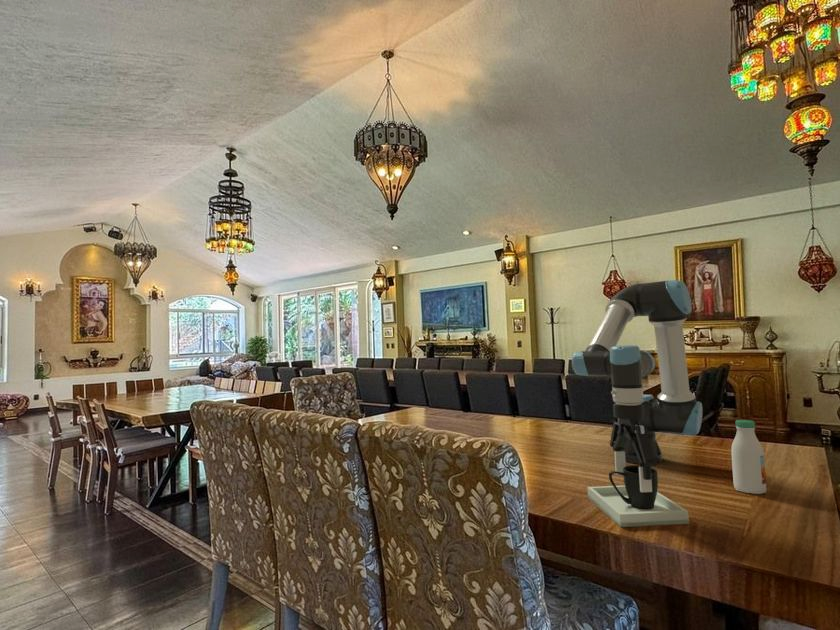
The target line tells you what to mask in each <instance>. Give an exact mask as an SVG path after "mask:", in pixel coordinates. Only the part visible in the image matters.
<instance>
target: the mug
mask: <svg viewBox="0 0 840 630" xmlns="http://www.w3.org/2000/svg"><path fill="white" fill-rule="evenodd" d="M638 465H639V464H637V465H636V464H635V465H633V464H632V465H626V466H625V467H624V468H623V472H617V471H615V470H614V471H613V470H611V471H609V472H608V479H609V481H610V483H611V486H613V487H614V488H615V490H616V491H617V492H618V494H619V495H620V497H621V498H622V499H623V501H624V502H626V503H627V504H631V506H633V507H635V508H638V509H644V510H648V509H653V508H654V503H655V500H656V495H657V492H658V490H659V489H658V488H659V487H658V486H659V477H658V471H657V469H655V468H654V467H651V479H652V492H640V480H639V466H638ZM614 474H615V475H616V474H621V475H620V476H623V483H624V485H625V488H626V492H627V495H628V498H626V497H624V496H623V495H622V494H621V493H620V491H619V490H618V488H617V487H616V486H617V485H616V484H615V483H614V480H613V475H614Z"/></svg>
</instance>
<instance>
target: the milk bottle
mask: <svg viewBox="0 0 840 630" xmlns="http://www.w3.org/2000/svg"><path fill="white" fill-rule="evenodd" d="M755 427H756V423H755V421H754V420H750V419H749V420H748V419H736V420H735V428H736V434H735V437H734V439H733V441H732V444H731V449H730V450H731V467H732V468H731V469H732V478H733V479H732V480H733V482H732V483H733V487H734V489H735V490H736V491H739V492H741V493H746V494H750V493H751V495H762V494H763V493H764V494H766V492H767V478H766V464H765V456H764V449H763V447H762V444H761V443H760V441H759V439H758V438H757V436H756V432H755V430H756V428H755Z"/></svg>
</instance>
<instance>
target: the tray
mask: <svg viewBox="0 0 840 630" xmlns="http://www.w3.org/2000/svg"><path fill="white" fill-rule="evenodd" d="M616 487H617V488H618V490H619V491H620V493H621V494H622V495H623V496H624V497H626V498H628V495H627V492H626V488H625V484H624V485H616ZM587 498H588V499H589V500H590V501H591V502H592V503H594V505H595V506H597V508H599V509H600V510H601V511H602V512H604V514H605V515H607V516H608V518H610V520H612V521H613V522H614V523H615V524H616V525H618V526H619V528H625V527H626V528H627V527H650V526H672V525H690V519H689V517H690V516H689V510H687V509H685V508H684V507H682V506H681V505H679V504H677V503H675V502H674V501H673V500H671V499H670V498H668V497H666V496H665V495H663V494H662V493H660V492H659V491H657V495H656V500H655V503H654V508H653V509H648V510H644V509H638V508H635V507H633V506H631V504H627V503H626V502H624V501H623V499H622V498H621V497H620V495H619V494H618V492H617V491H616V490H615V488H614V487H613V485H607V486H606V485H604V486H601V485H600V486H587Z"/></svg>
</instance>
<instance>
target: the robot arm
mask: <svg viewBox="0 0 840 630" xmlns="http://www.w3.org/2000/svg"><path fill="white" fill-rule="evenodd" d="M604 310H605V315H604V316H603V318H602V320H601V322H600V324H599V326H598V328H597V329H596V331H595V333H594V334H593V337H592V338H591V340H590V341H589V344H588V346H587V347H586V349H585V350H581V351H580V350H579V351H575V352H574V353H573V355H572V357H571V358H572V359H571V367H572V370H573V372H574V373H575V374H576V375H577V376H584V377H585V376H587V377H611V391H610V394H611V396H612V401H613V402H614V403H613V404H612V409H613V410H612V412H613V418H612V419H613V422H612V423H613V424H612V430H611V436H610V440H609V441H610V442H609V446H610V447H611V448H612V450H613V451H614V466H615V467H614V469H615V470H614V471H617V472H623V468H624V467H625V466H627V463H632V464H637V465H638V466H639V480H640V492H652V479H651V468H652V467H654V466H657V464H659V463H661V462H662V461H663V453H662V451H661V449H660V446H659V444H658V441H657V439H656V438H657V437H656V433H662V434H663V433H664V434H671V435H672V434H674V435H679V436H696V435H698V434H699V432H700V430H701V427H702V422H703V421H702V420H703V411H704V410H703V404H702V402H701V401H697V400H696V399H697V398H696V395H695V394H694V393H692V392H691V390H690V383H689V375H688V374H689V373H688V366H687V365H688V363H687V356H686V355H687V354H686V345H685V338H684V337H685V335H684V327H683V323H685V322H686V320H687V319H688V316H687V315H689V314H691V313H692V310H693V308H692V299H691V294H690V291H689V289H688V287H687V285H686V284H685V282H684V281H682V280H680V279H676V280H669V279H668V280H661V281H652V282H644V283H634V284H631V285H629V286H626V287H625V288H623V289H621V290H620V291H618V292H617V293H616V294H614V296H612V297H611V298H610V300H609V301H608V303H607V304H606V306H605V309H604ZM635 317H648V322H649V323H650V324H651V325H653V326H654V336H655V344H656V354H657V361H658V373H659V381H660V390H661V392H660V393H659V394H657V399H656V398H655V397H654V396H653V394H644V390H643V388H644V387H643V378H644V377H646V376H649V375H650V374H651V373H652V372H653V371H654V370H655V366H656V362H655V358H654V357H653V356H652V354H651V353H650V352H648V351H645V350H641V349H640V347H639V346H638V345H618V343H619V340H620V339H621V336H622V334H623V332H624V330H625V329H626V326H627V324H628V323H629V322H631V321H632V320H633V319H634V318H635ZM654 398H655V399H654ZM615 475H616V476H622V475H621V474H616V473H615Z"/></svg>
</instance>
